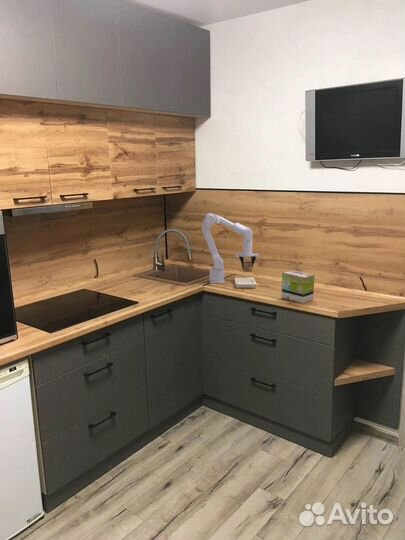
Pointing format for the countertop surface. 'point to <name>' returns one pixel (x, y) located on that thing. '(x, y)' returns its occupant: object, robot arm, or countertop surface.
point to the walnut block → (247, 266)
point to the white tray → (245, 282)
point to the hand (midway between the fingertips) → (247, 268)
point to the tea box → (297, 286)
